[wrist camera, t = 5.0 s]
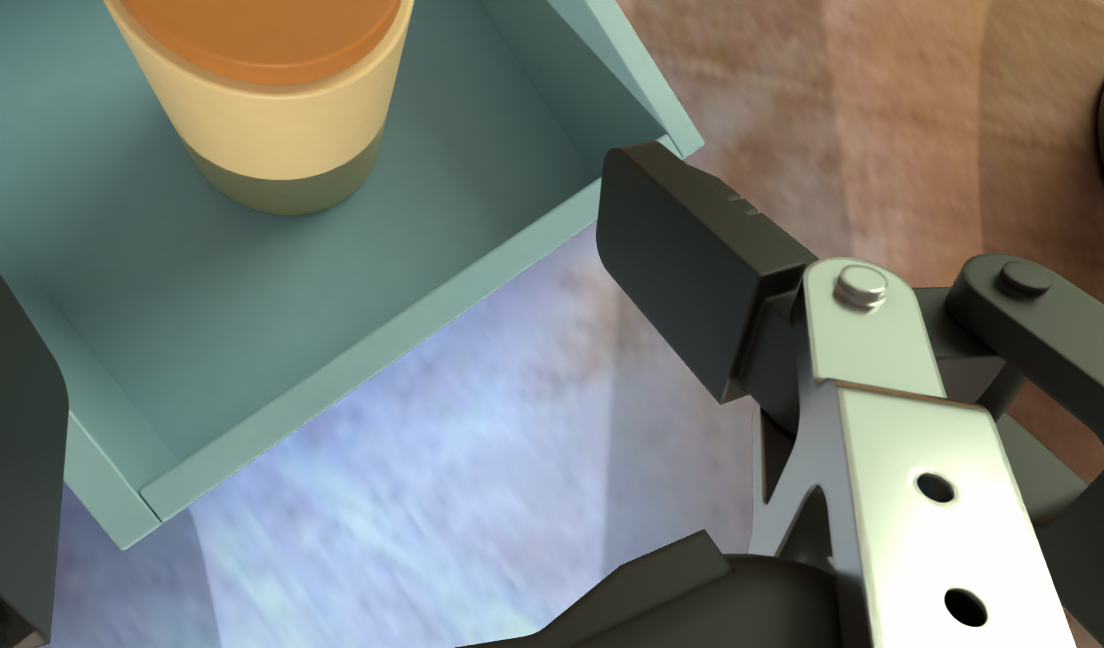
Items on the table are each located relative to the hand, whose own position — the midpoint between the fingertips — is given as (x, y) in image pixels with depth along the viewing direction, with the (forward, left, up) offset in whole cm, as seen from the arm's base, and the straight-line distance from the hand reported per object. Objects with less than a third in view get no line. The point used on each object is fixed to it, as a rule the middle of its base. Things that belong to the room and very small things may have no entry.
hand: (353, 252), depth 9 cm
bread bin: (-2, -5, -10) cm, 11 cm away
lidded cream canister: (-2, -5, -9) cm, 11 cm away
